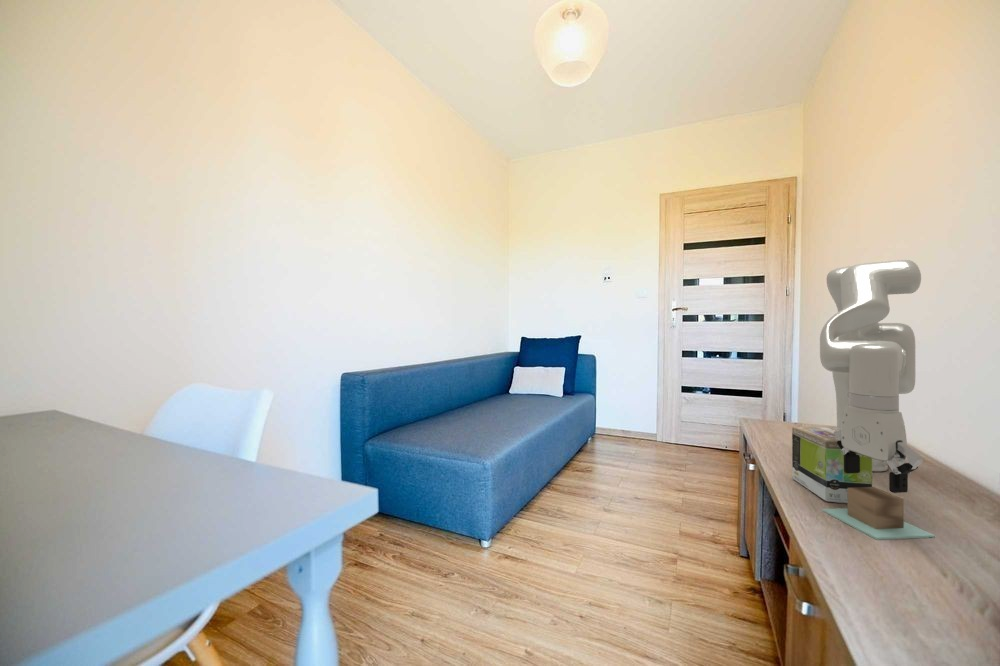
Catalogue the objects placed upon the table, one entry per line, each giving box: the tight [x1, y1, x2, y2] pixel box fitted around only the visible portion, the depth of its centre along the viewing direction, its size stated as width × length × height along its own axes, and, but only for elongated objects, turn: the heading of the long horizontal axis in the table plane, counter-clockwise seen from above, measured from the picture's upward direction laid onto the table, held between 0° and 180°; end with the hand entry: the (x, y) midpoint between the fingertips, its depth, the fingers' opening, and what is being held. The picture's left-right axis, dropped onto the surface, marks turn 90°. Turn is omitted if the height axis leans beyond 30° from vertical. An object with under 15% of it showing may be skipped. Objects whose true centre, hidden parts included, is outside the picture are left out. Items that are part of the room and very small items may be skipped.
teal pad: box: [821, 507, 936, 541], centre depth 81 cm, size 12×12×1 cm
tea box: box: [791, 426, 873, 504], centre depth 97 cm, size 15×10×15 cm, turn 168°
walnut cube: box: [847, 486, 905, 529], centre depth 81 cm, size 6×6×6 cm
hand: (873, 481), depth 82 cm, fingers open, 9 cm apart
